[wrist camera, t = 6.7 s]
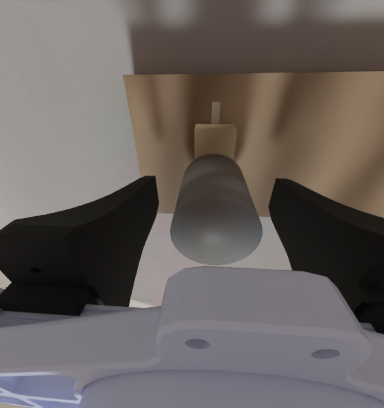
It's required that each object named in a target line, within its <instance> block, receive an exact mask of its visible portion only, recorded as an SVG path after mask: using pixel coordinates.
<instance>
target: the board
mask: <svg viewBox="0 0 384 408" xmlns="http://www.w3.org/2000/svg"><path fill="white" fill-rule="evenodd" d="M123 78H124V83H125V89H126V94H127V100H128V105H129V111H130V116H131V122H132V128H133V133H134V139H135V144H136V150H137V155H138V161H139V167H140V172H141V177H143V176H146V175H147V176H156V183H157V190H158V198H159V207H158V211H157V213H174V212H175V208H176V204H177V200H178V196H179V192H180V188H181V184H182V179H183V175H184V172H185V170H186V168H187V167H188V166H189V164H190V163H191V162H193V161H194V160H195V125H196V124H234V125H235V126H236V128H237V137H236V145H235V153H234V161H235V162H236V163H237V164H238V165H239V167H240V169H241V171H242V173H243V176H244V179H245V181H246V184H247V187H248V190H249V192H250V195H251V198H252V200H253V203H254V206H255V208H256V211H257V214H258V216H264V217H271V216H270V212H269V208H268V206H269V202H270V198H271V194H272V191H273V187H274V183H275V179H276V178H287V179H290V180H292V181H295V182H297V183H299V184H301V185H303V186H305V187H307V188H309V189H311V190H313V191H315V192H317V193H319V194H321V195H323V196H325V197H327V198H329V199H332V200H334V201H336V202H339V203H341V204H344V205H346V206H349V207H352V208H354V209H357V210H360V211H363V212H366V213H369V214H372V215H376V216H379V217H382V218H384V71H366V72H295V73H225V74H154V75H123Z"/></svg>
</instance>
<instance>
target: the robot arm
mask: <svg viewBox="0 0 384 408" xmlns="http://www.w3.org/2000/svg"><path fill="white" fill-rule="evenodd" d="M158 207H159V198H158V190H157V183H156V176H147V175H146V176H143V177H141V178H139V179H138V180H136V181H134V182H132V183H130V184H129V185H127V186H125V187H123V188H121V189H120V190H118V191H116V192H114V193H112V194H110V195H108V196H105V197H103V198H100V199H98V200H95V201H93V202H90V203H87V204H84V205H81V206H78V207H74V208H71V209H67V210H63V211H59V212H55V213H50V214H46V215H40V216H34V217H29V218H23V219H16V220H14V221H12V222H11V223H9V224H8V225H6V226H5V227H4V228H2V229H1V230H0V270H1V272H2V273H3V274H4V275H5V276H6V277H7V278H8V279H9V280H10V281H11V282H12V283H11V284H10V285H9V286H8V287H7V288H6V289H5V290H4V289H1V288H0V403H5V404H12V405H18V406H24V407H31V408H384V218H382V217H379V216H376V215H372V214H369V213H366V212H363V211H360V210H357V209H354V208H352V207H349V206H346V205H344V204H341V203H339V202H336V201H334V200H332V199H329V198H327V197H325V196H323V195H321V194H319V193H317V192H315V191H313V190H311V189H309V188H307V187H305V186H303V185H301V184H299V183H297V182H295V181H292V180H290V179H287V178H276V179H275V183H274V187H273V191H272V194H271V198H270V202H269V206H268V208H269V212H270V216H271V219H272V222H273V224H274V227H275V229H276V231H277V233H278V235H279V237H280V240H281V242H282V244H283V246H284V248H285V251H286V253H287V256H288V258H289V261H290V265H291V268H292V271H290V270H271V269H251V268H232V267H213V266H201V267H193V268H185V269H183V270H181V271H180V272H178V273H176V274H175V275H173V276H171V277H170V278H168V281H167V285H166V288H165V292H164V297H163V302H162V306H157V307H149V308H135V307H134V308H133V307H129V303H130V298H131V294H132V289H133V285H134V281H135V277H136V273H137V269H138V265H139V261H140V258H141V254H142V251H143V248H144V245H145V242H146V240H147V238H148V235H149V233H150V230H151V228H152V225H153V223H154V221H155V218H156V215H157V211H158Z"/></svg>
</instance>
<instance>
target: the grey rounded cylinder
mask: <svg viewBox="0 0 384 408" xmlns="http://www.w3.org/2000/svg"><path fill="white" fill-rule="evenodd" d="M236 137H237V128H236V126H235V125H234V124H196V125H195V160H194V161H193V162H191V163H190V164H189V166H188V167H187V168H186V170H185V172H184V175H183V179H182V184H181V188H180V192H179V196H178V200H177V204H176V208H175V212H174V216H173V220H172V224H171V229H170V234H171V239H172V242H173V244H174V246H175V247H176V248H177V250H178V251H179V252H180V253H181V254H183V255H184V256H185V257H187V258H189V259H191V260H193V261H195V262H198V263H202V264H207V265H225V264H230V263H234V262H237V261H239V260H241V259H243V258H245V257H247V256H248V255H250V254H251V253H252V252H253V251H254V250H255V249H256V247H257V246H258V244H259V243H260V240H261V237H262V225H261V222H260V219H259V216H258V214H257V211H256V208H255V206H254V203H253V200H252V198H251V195H250V192H249V190H248V187H247V184H246V181H245V179H244V176H243V173H242V171H241V169H240V167H239V165H238V164H237V163H236V162H235V161H234V153H235V145H236Z"/></svg>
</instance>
